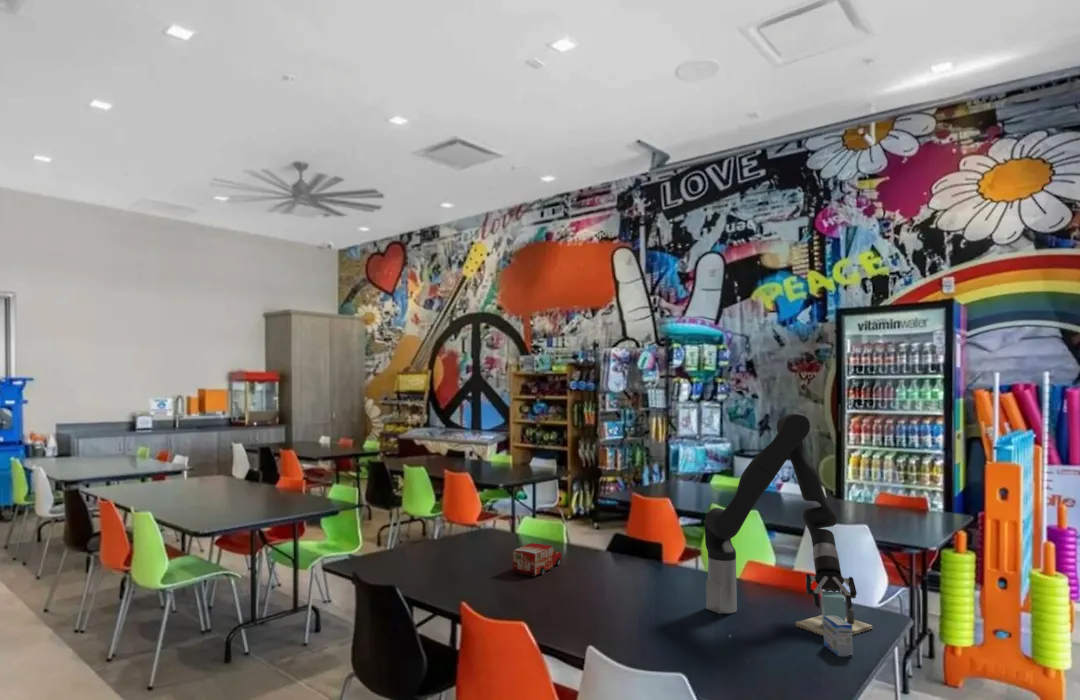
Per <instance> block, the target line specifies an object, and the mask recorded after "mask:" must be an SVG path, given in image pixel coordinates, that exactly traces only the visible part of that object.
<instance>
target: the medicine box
mask: <svg viewBox="0 0 1080 700" xmlns="http://www.w3.org/2000/svg"><path fill="white" fill-rule="evenodd" d="M823 645H824V647H825V646H826V647H827V648H826V647H825V648H826V649H828V650H829V649H830V650H831V651H830V650H829V651H830V652H832V653H833V652H834V653H833V654H835V655H836V656H837V657H849V656H848V655H853V652H854V651H853V649H854V647H853V636H852V625H850V624H849V623H847V622H846V621H844V620H843V619H841V618H840V617H838V616H824V636H823Z"/></svg>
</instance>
